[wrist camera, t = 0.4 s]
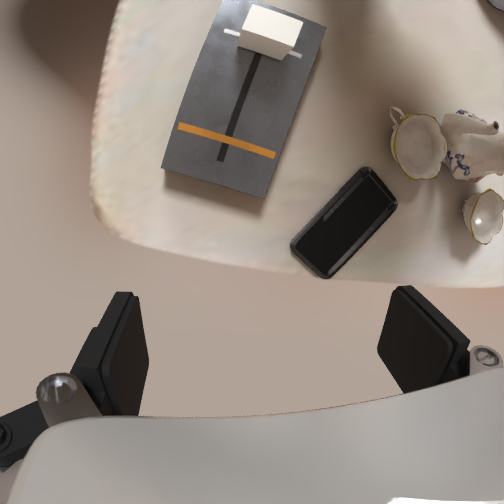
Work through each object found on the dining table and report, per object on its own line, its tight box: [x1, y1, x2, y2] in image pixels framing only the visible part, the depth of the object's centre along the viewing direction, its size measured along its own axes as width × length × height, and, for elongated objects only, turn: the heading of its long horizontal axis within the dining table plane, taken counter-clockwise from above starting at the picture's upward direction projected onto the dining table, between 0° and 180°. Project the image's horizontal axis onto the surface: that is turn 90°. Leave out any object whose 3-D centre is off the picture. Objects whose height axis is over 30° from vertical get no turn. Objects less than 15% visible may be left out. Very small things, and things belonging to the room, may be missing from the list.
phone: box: [290, 167, 398, 279], centre depth 41 cm, size 8×1×15 cm
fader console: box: [161, 0, 326, 199], centre depth 32 cm, size 22×12×3 cm, turn 161°
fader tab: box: [237, 4, 303, 61], centre depth 26 cm, size 3×5×6 cm, turn 71°
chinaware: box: [388, 107, 504, 245], centre depth 32 cm, size 28×17×17 cm, turn 65°
